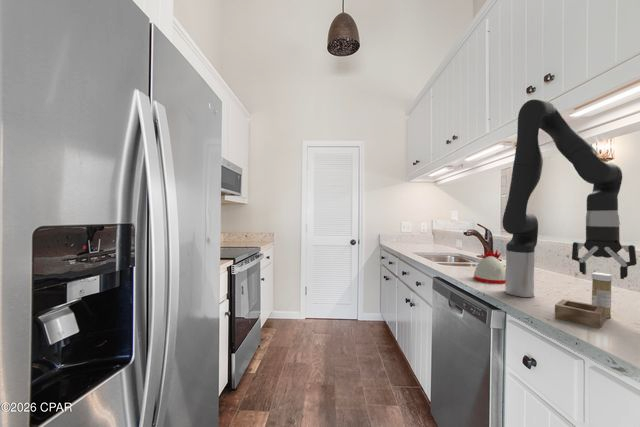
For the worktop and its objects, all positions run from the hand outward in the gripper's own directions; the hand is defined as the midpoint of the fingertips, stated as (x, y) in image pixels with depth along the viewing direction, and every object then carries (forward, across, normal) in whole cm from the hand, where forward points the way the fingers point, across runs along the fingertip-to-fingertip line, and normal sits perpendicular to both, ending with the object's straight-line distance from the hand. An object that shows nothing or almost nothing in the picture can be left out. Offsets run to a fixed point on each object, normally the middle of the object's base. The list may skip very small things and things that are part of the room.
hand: (602, 276), depth 88 cm
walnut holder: (+12, -4, -9) cm, 16 cm away
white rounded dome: (+12, -41, +24) cm, 49 cm away
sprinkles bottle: (+13, 0, 0) cm, 13 cm away
